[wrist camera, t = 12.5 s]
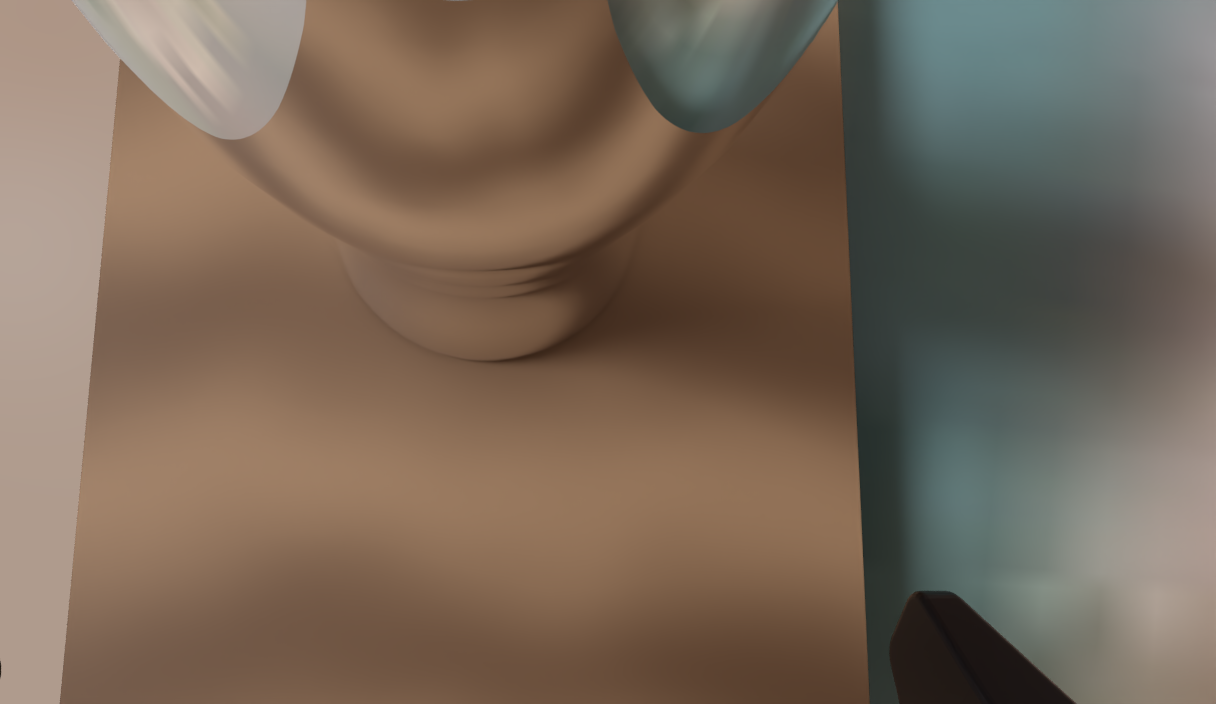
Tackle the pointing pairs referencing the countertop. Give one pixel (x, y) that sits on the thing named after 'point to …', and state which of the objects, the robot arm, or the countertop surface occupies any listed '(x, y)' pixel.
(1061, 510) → the countertop surface
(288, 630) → the walnut board
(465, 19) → the beer glass
